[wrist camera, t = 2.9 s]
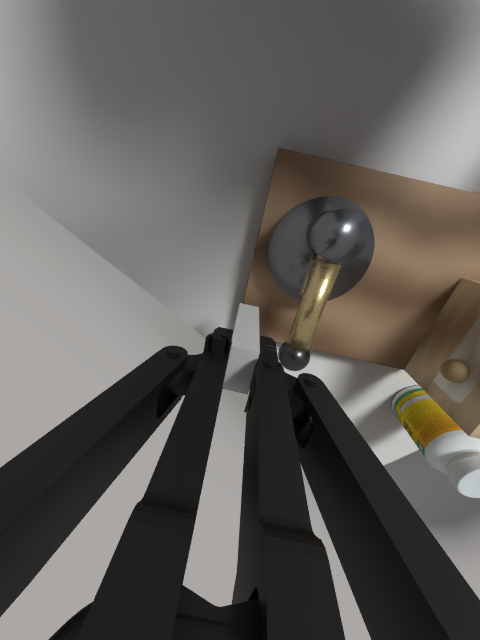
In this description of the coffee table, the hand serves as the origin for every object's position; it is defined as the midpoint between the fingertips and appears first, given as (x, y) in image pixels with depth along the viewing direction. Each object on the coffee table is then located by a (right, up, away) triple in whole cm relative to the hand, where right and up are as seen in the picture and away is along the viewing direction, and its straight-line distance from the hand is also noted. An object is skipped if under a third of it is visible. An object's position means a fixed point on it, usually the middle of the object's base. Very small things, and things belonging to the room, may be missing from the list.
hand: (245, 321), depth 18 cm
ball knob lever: (+5, +4, +3) cm, 7 cm away
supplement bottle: (+21, -10, +10) cm, 25 cm away
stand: (+11, +4, +5) cm, 13 cm away
